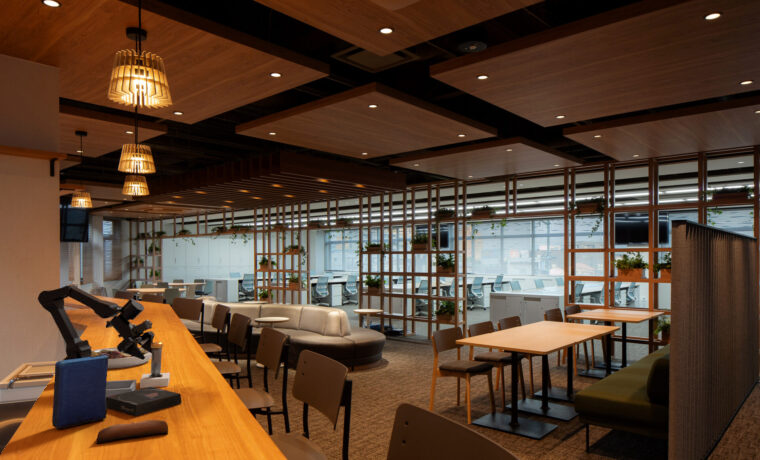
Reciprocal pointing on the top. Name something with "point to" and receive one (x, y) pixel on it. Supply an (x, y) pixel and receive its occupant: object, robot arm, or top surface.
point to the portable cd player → (143, 401)
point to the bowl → (121, 357)
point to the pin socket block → (154, 380)
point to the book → (80, 391)
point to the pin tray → (119, 387)
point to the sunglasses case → (132, 430)
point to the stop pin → (156, 359)
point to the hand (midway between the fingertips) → (150, 356)
